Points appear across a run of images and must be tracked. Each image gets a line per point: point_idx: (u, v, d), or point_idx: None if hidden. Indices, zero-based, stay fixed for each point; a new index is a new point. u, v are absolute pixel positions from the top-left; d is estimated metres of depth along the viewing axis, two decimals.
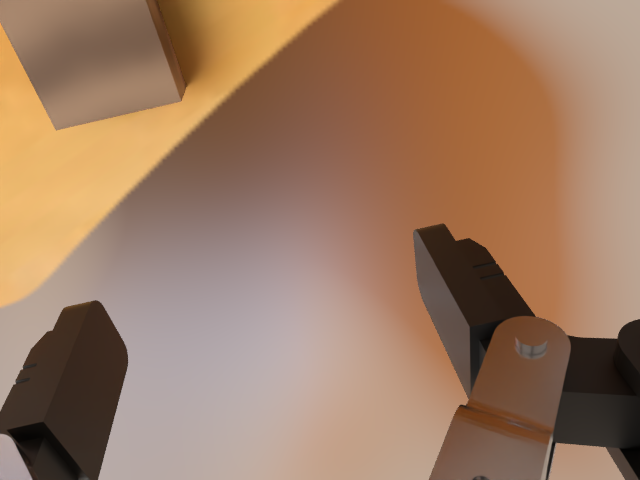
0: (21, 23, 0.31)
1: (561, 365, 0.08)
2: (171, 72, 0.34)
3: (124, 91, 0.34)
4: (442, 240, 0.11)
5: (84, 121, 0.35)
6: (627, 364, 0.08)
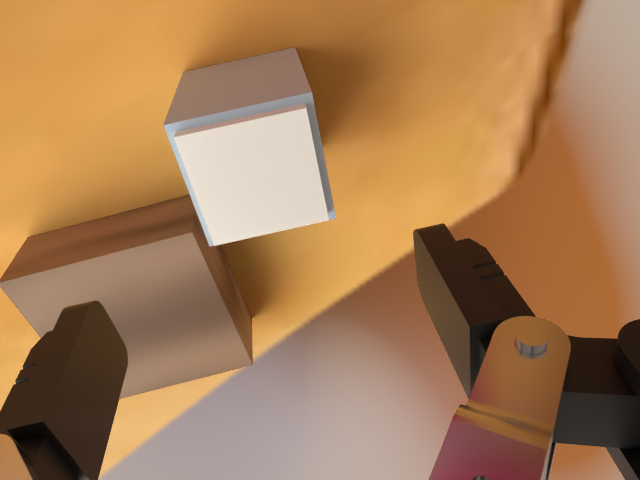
0: (48, 311, 0.23)
1: (561, 365, 0.08)
2: (241, 337, 0.26)
3: (180, 362, 0.26)
4: (442, 240, 0.11)
5: (130, 394, 0.27)
6: (627, 364, 0.08)
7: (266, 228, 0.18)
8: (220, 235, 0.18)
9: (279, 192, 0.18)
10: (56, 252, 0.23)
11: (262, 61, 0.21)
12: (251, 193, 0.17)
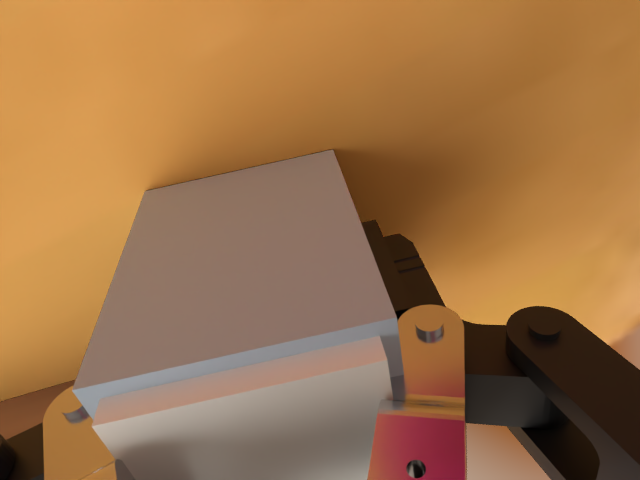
0: None
1: (451, 348, 0.08)
2: None
3: None
4: (370, 235, 0.12)
5: None
6: (519, 354, 0.08)
7: None
8: None
9: None
10: None
11: (279, 183, 0.12)
12: None
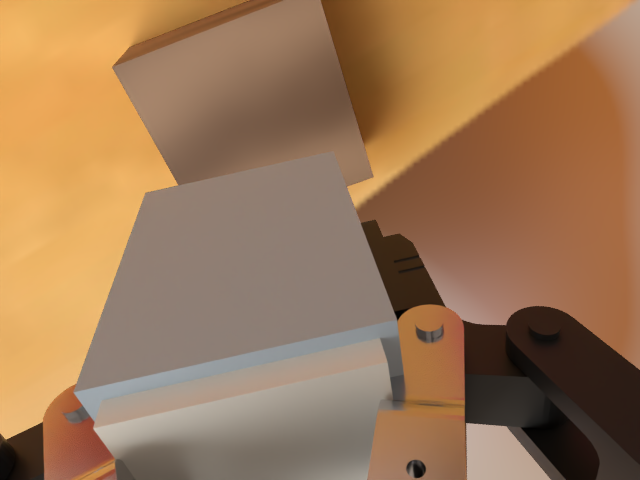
0: (163, 105, 0.22)
1: (451, 349, 0.08)
2: (362, 141, 0.24)
3: None
4: (370, 235, 0.12)
5: None
6: (519, 354, 0.08)
7: None
8: None
9: None
10: (166, 40, 0.21)
11: (280, 184, 0.12)
12: None
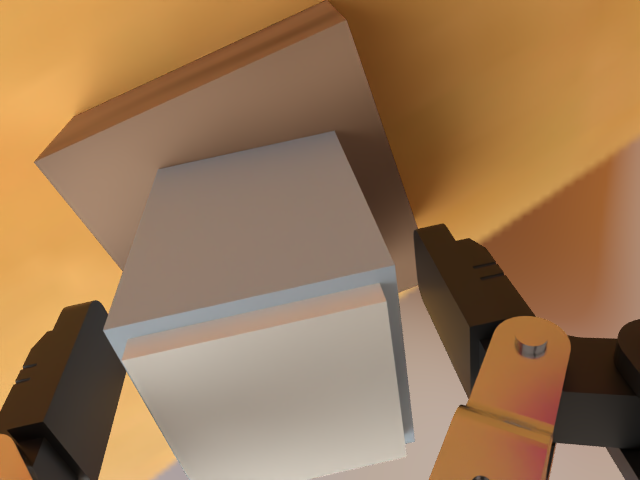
0: (120, 208, 0.14)
1: (561, 365, 0.08)
2: None
3: None
4: (442, 240, 0.11)
5: None
6: (627, 364, 0.08)
7: (296, 475, 0.10)
8: None
9: (323, 427, 0.10)
10: (119, 111, 0.14)
11: (285, 159, 0.13)
12: (272, 431, 0.09)
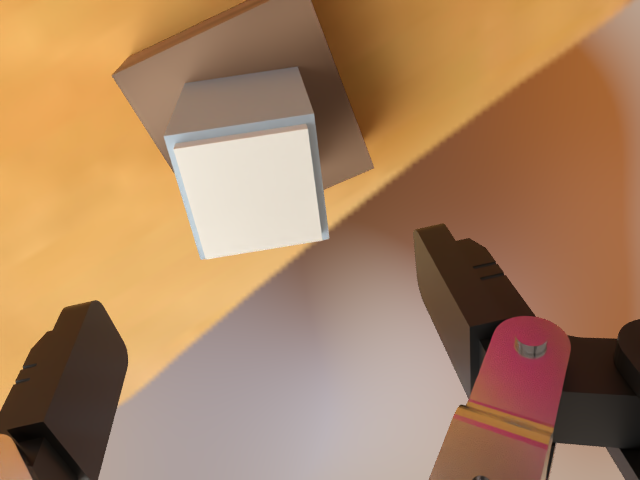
0: (163, 109, 0.22)
1: (561, 365, 0.08)
2: (360, 132, 0.24)
3: None
4: (442, 240, 0.11)
5: None
6: (627, 364, 0.08)
7: (259, 244, 0.18)
8: (212, 249, 0.18)
9: (275, 210, 0.18)
10: (163, 46, 0.22)
11: (264, 78, 0.21)
12: (246, 209, 0.17)
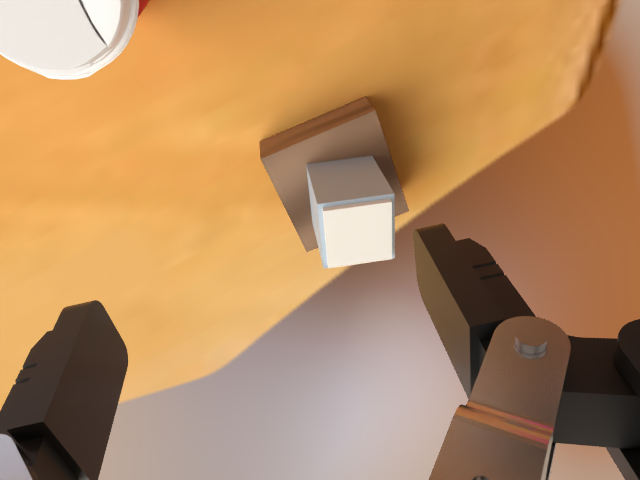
0: (287, 177, 0.37)
1: (561, 365, 0.08)
2: (401, 189, 0.39)
3: None
4: (442, 240, 0.11)
5: None
6: (627, 364, 0.08)
7: (358, 260, 0.33)
8: (333, 262, 0.33)
9: (369, 242, 0.33)
10: (287, 140, 0.37)
11: (355, 164, 0.36)
12: (354, 241, 0.33)
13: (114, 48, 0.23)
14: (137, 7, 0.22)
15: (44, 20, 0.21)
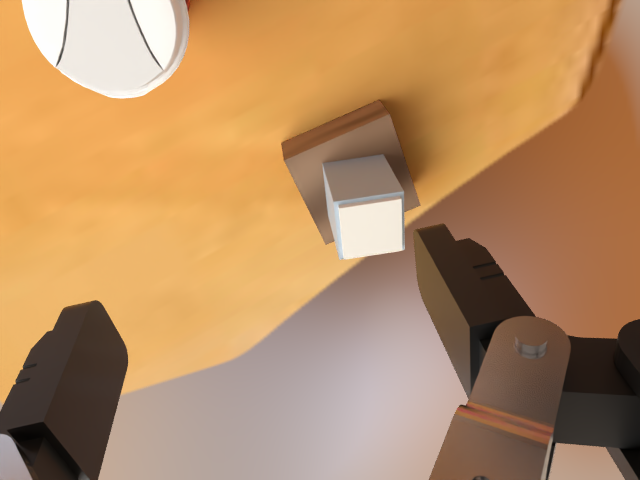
0: (308, 176, 0.40)
1: (561, 365, 0.08)
2: (413, 186, 0.42)
3: None
4: (442, 240, 0.11)
5: None
6: (627, 364, 0.08)
7: (371, 252, 0.37)
8: (348, 254, 0.36)
9: (381, 235, 0.36)
10: (308, 142, 0.40)
11: (368, 163, 0.39)
12: (368, 235, 0.36)
13: (167, 70, 0.26)
14: (188, 35, 0.25)
15: (110, 49, 0.24)
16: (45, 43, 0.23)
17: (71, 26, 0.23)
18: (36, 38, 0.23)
